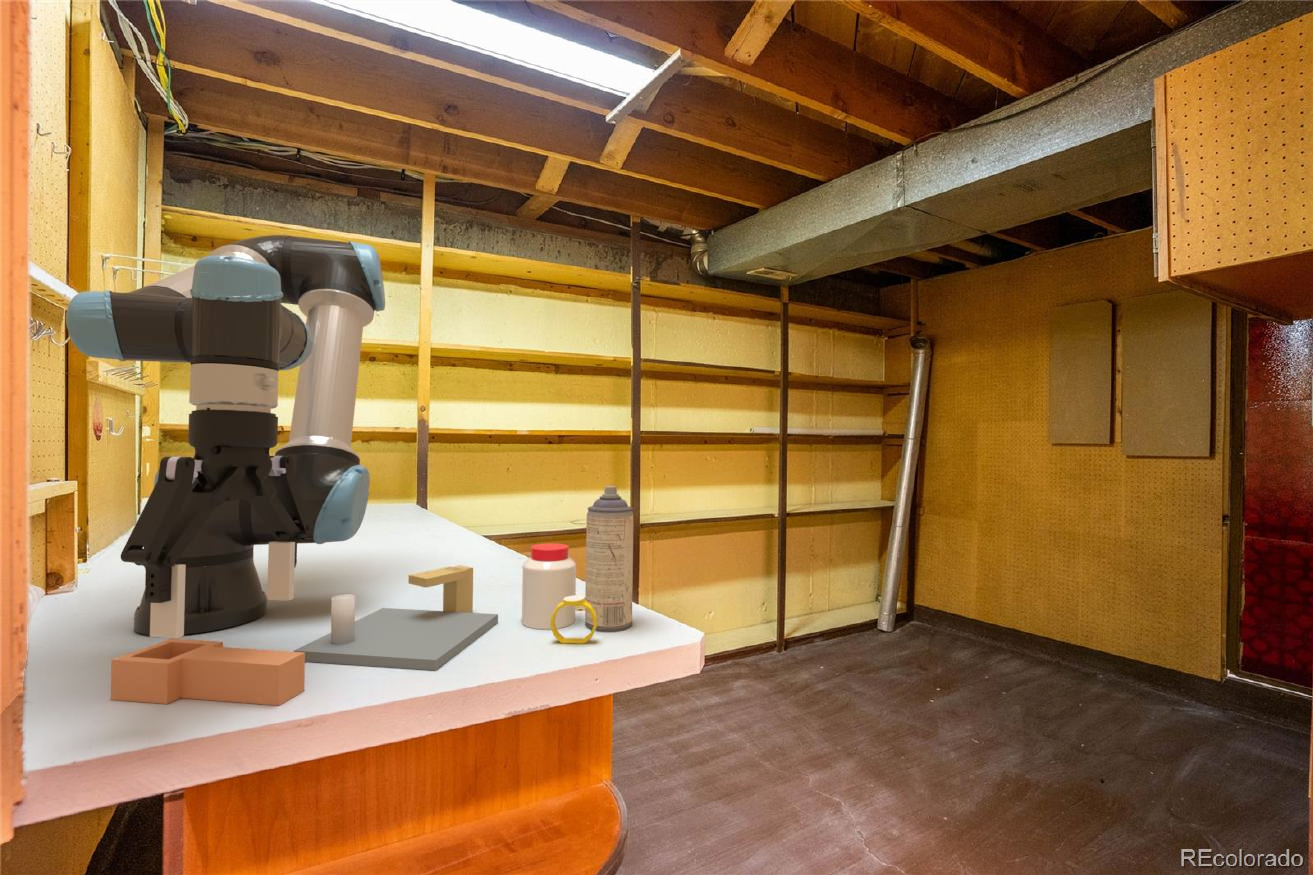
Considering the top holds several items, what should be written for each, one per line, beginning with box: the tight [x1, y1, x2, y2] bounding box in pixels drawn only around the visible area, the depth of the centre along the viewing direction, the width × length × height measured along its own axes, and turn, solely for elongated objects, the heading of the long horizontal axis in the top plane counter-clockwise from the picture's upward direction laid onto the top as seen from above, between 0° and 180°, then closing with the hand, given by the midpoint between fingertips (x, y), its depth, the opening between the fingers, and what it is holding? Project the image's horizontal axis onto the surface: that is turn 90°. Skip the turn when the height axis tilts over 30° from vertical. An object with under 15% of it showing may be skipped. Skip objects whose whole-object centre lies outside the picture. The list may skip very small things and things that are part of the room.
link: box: [110, 638, 306, 707], centre depth 61 cm, size 17×6×4 cm, turn 83°
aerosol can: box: [584, 485, 634, 633], centre depth 85 cm, size 7×7×20 cm
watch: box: [550, 595, 597, 645], centre depth 78 cm, size 6×3×6 cm, turn 91°
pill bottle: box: [521, 542, 577, 630], centre depth 86 cm, size 8×8×11 cm
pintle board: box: [292, 564, 499, 672], centre depth 79 cm, size 18×22×7 cm
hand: (230, 616), depth 60 cm, fingers open, 13 cm apart
